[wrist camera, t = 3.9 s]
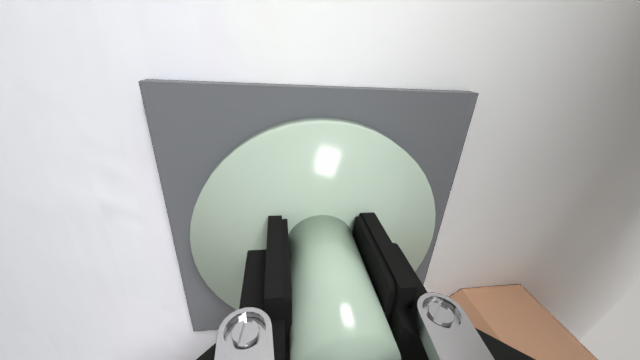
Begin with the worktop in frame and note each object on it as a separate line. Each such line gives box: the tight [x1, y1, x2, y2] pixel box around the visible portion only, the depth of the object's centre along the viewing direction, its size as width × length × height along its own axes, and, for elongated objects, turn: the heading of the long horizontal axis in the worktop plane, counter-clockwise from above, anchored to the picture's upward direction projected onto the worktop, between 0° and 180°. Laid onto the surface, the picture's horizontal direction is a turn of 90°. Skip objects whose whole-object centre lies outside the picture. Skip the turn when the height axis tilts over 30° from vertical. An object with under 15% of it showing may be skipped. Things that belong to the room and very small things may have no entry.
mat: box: [139, 79, 479, 331], centre depth 12 cm, size 12×12×1 cm
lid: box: [190, 117, 436, 360], centre depth 9 cm, size 10×10×6 cm
